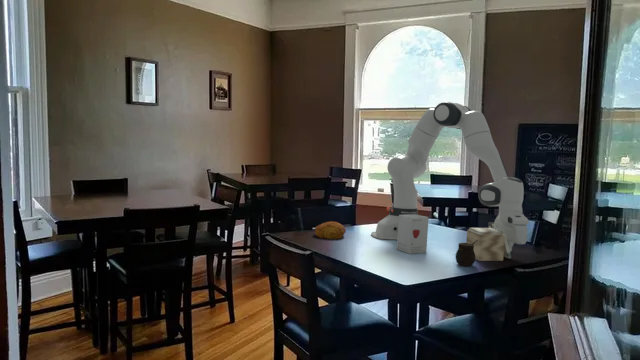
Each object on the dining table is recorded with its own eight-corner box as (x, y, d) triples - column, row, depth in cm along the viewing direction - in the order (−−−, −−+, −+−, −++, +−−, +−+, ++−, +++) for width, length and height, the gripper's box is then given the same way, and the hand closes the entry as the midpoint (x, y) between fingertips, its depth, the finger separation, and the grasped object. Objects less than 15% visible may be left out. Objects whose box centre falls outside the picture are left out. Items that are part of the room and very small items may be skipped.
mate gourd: (453, 262, 192) (455, 236, 192) (473, 263, 192) (475, 237, 191) (456, 266, 185) (458, 239, 184) (477, 268, 184) (479, 241, 184)
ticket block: (479, 260, 197) (481, 232, 196) (465, 253, 208) (467, 226, 208) (503, 260, 198) (504, 232, 197) (488, 253, 210) (490, 227, 209)
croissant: (346, 239, 242) (348, 222, 242) (342, 240, 226) (344, 222, 227) (317, 236, 244) (318, 219, 245) (311, 237, 229) (312, 219, 230)
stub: (503, 235, 199) (505, 234, 199) (491, 231, 208) (494, 230, 208) (508, 258, 200) (511, 257, 200) (497, 253, 209) (500, 252, 209)
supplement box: (409, 254, 203) (411, 217, 202) (396, 249, 211) (398, 214, 210) (427, 253, 207) (429, 216, 206) (413, 248, 215) (415, 213, 214)
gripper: (490, 213, 213) (488, 245, 214) (516, 220, 193) (513, 256, 194) (504, 213, 214) (502, 245, 215) (531, 221, 194) (528, 256, 195)
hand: (507, 250), depth 205 cm, fingers closed
